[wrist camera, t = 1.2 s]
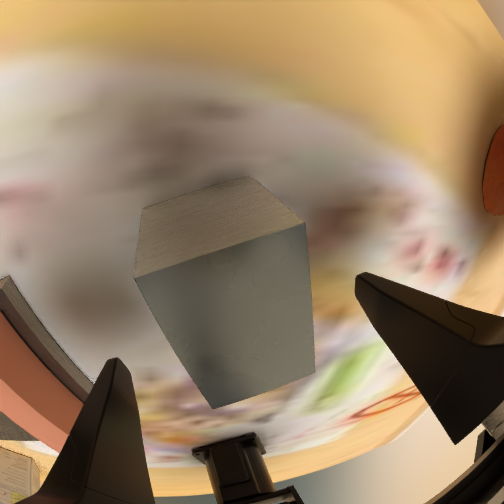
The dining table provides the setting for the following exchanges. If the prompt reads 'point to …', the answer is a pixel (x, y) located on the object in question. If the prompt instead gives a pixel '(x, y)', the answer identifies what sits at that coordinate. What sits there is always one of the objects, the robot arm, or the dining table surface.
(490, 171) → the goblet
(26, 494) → the light bulb box
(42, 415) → the sliding jaw
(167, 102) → the dining table surface
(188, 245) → the steel block
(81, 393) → the base
